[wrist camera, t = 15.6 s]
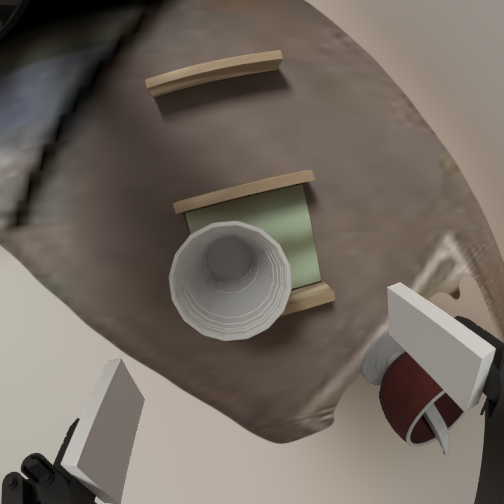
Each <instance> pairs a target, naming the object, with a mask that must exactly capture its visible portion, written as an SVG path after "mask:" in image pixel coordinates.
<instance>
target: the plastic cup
mask: <svg viewBox="0 0 504 504" xmlns="http://www.w3.org/2000/svg"><path fill="white" fill-rule="evenodd" d="M169 283H170V290H171V297H172V301H173V303H174V305H175V306H176V308H177V310H178V312H179V313H180V315H181V317H182V318H183V320H184V321H185V322H186V323H188V324H189V325H190V326H192V327H193V328H194V329H196V330H197V331H198V332H200V333H201V334H202V335H205V336H209V337H212V338H216V339H219V340H223V341H230V340H240V339H248V338H250V337H252V336H254V335H256V334H258V333H260V332H262V331H264V330H266V329H268V328H269V327H270V326H271V325H272V324H273V323H274V322H275V320H276V319H277V318H278V317H279V316H280V315H281V314H282V313H283V311H284V309H285V306H286V303H287V301H288V298H289V295H290V292H291V271H290V264H289V262H288V260H287V258H286V256H285V254H284V252H283V250H282V248H281V246H280V244H279V243H277V242H276V241H275V240H274V239H273V238H272V237H270V236H269V235H268V234H267V233H266V232H265V231H263V230H262V229H261V228H258V227H255V226H252V225H249V224H246V223H243V222H240V221H229V222H218V223H211V224H210V225H208V226H206V227H204V228H202V229H200V230H198V231H196V232H194V233H193V234H191V235H190V236H189V237H188V238H187V240H186V241H185V242H184V243H183V244H182V246H181V247H180V248H179V249H178V251H177V252H176V253H175V256H174V259H173V263H172V267H171V270H170V274H169Z"/></svg>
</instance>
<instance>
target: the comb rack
mask: <svg viewBox="0 0 504 504" xmlns="http://www.w3.org/2000/svg"><path fill="white" fill-rule="evenodd" d="M282 59H283V57H282V54H281V51H280V50H278V51H270V52H262V53H255V54H248V55H242V56H236V57H231V58H225V59H220V60H216V61H211V62H207V63H202V64H198V65H194V66H190V67H186V68H182V69H179V70H175V71H172V72H168V73H165V74H162V75H158V76H155V77H152V78H149V79H146V80H145V83H146V88H147V90H148V91H149V92H150V93H151V95H152V96H153V97H157V96H160V95H164V94H167V93H170V92H174V91H177V90H181V89H184V88H188V87H192V86H196V85H200V84H204V83H208V82H212V81H217V80H221V79H226V78H231V77H236V76H242V75H247V74H253V73H259V72H266V71H273V70H277V69H278V67H279V65H280V63H281V61H282ZM313 180H315V179H314V175H313V170H306V171H300V172H295V173H290V174H285V175H281V176H276V177H272V178H267V179H263V180H258V181H254V182H250V183H246V184H242V185H237V186H233V187H229V188H225V189H221V190H218V191H214V192H210V193H206V194H202V195H199V196H195V197H191V198H188V199H184V200H181V201H177V202H175V203H173V206H174V210H175V214H178V213H181V212H185V211H189V210H192V209H196V208H200V207H203V206H207V205H211V204H215V203H219V202H222V201H226V200H230V199H234V198H238V197H242V196H246V195H250V194H255V193H259V192H263V191H267V190H272V189H276V188H280V187H285V186H289V185H294V184H299V183H303V182H308V181H313ZM185 215H186V219H187V223H188V226H189V230H190V233H191V234H193V233H194V232H196V231H198V230H200V229H202V228H204V227H206V226H208V225H210V224H211V223H218V222H229V221H240V222H243V223H246V224H249V225H252V226H255V227H258V228H261V229H262V230H263V231H265V232H266V233H267V234H268V235H269V236H270V237H272V238H273V239H274V240H275V241H276V242H277V243H279V244H280V246H281V248H282V250H283V252H284V254H285V256H286V258H287V260H288V262H289V264H290V271H291V289H293V288H297V287H301V286H304V285H308V284H311V283H315V282H318V281H321V278H320V271H319V265H318V260H317V254H316V248H315V243H314V237H313V232H312V227H311V222H310V217H309V211H308V207H307V202H306V197H305V192H304V187H303V184H299V185H294V186H290V187H285V188H281V189H276V190H272V191H268V192H263V193H259V194H255V195H251V196H247V197H243V198H239V199H235V200H231V201H227V202H223V203H219V204H215V205H211V206H207V207H204V208H200V209H196V210H193V211H189V212H185ZM334 300H335V295H334V291H333V290H332V289H331V288H330V287H329V286H328V285H327V284H326V283H325V282H324V281H323V282H320V283H317V284H313V285H310V286H306V287H303V288H299V289H295V290H292V291H291V292H290V295H289V298H288V301H287V303H286V306H285V309H284V311H283V313H282V314H281V315H280V316H283V315H287V314H290V313H294V312H297V311H301V310H304V309H308V308H311V307H315V306H318V305H321V304H325V303H328V302H331V301H334ZM280 316H279V317H280Z"/></svg>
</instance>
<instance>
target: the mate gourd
mask: <svg viewBox="0 0 504 504" xmlns="http://www.w3.org/2000/svg"><path fill="white" fill-rule="evenodd" d="M362 373H363V376H364V377H365V379H366V380H367V381H368V382H369V383H371V384H374V385H381V388H380V392H379V399H380V403H381V406H382V410H383V412H384V414H385V417H386V419H387V420H388V422H389V423H390V425H391V426H392V428H393V429H394V431H395V432H396V433H397V434H398V435H399V436H400V437H401V438H402V439H403V440H404V441H406V442H407V444H408V445H409V446H411V447H420V446H424V445H426V444H429V443H431V442H433V441H435V440H436V439H438V441H439V443H440V445H441V447H442V448H443V454H444V455H446V454H448V449H449V435H448V431H449V430H450V429H451V428H452V427H453V426H454V425H455V424H456V423H457V422H458V421H459V420H460V419H461V418H462V417H463V415H464V414H465V413H466V412H464V411H463V410H462V409H461V408H460V407H459V406H458V405H457V404H456V402H455V401H454V400H453V399H452V398H451V397H450V396H449V395H448V394H447V393H446V392H445V391H444V390H443V389H442V388H441V387H440V385H439V384H438V383H437V382H436V381H435V380H434V379H433V378H432V377H431V376H430V375H429V374H428V373H427V372H426V371H425V370H424V369H423V368H422V367H421V366H420V365H419V364H418V363H417V362H416V361H415V360H414V359H413V358H412V357H411V356H410V355H409V354H408V353H407V352H406V351H405V350H404V349H403V348H402V347H401V346H400V345H399V344H398V343H397V342H396V341H395V340H394V339H393V338H392V337H391V336H390V335H389V330H387V331H386V332H384V333H383V334H381V335H380V336H379V337H378V338H377V339H376V340H375V341H374V342H373V343H372V344H371V345H370V347H369V348H368V350H367V351H366V353H365V355H364V358H363V361H362Z"/></svg>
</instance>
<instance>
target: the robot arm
mask: <svg viewBox="0 0 504 504" xmlns="http://www.w3.org/2000/svg"><path fill="white" fill-rule="evenodd" d="M29 1H30V0H0V41H1V40H2V39H3V38H4V37H5V36H6V35H7V34H8V33H9V32H10V30H11V29H12V28H13V27H14V26H15V24H16V23H17V22H18V20H19V19H20V17H21V16H22V14H23V13H24V11H25V9H26V8H27V6H28V3H29ZM387 292H388V320H389V335H390V336H391V337H392V338H393V339H394V340H395V341H396V342H397V343H398V344H399V345H400V346H401V347H402V348H403V349H404V350H405V351H406V352H407V353H408V354H409V355H410V356H411V357H412V358H413V359H414V360H415V361H416V362H417V363H418V364H419V365H420V366H421V367H422V368H423V369H424V370H425V371H426V372H427V373H428V374H429V375H430V376H431V377H432V378H433V379H434V380H435V381H436V382H437V383H438V384H439V385H440V387H441V388H442V389H443V390H444V391H445V392H446V393H447V394H448V395H449V396H450V397H451V398H452V399H453V400H454V401H455V402H456V404H457V405H458V406H459V407H460V408H461V409H462V410H463V411H464V412H467V411H468V410H469V409H471V408H472V407H473V406H475V405H476V404H478V403H479V400H480V397H481V395H482V392H483V393H484V394H485V395H486V396H487V398H486V401H485V403H484V406H483V408H482V410H481V414H480V415H483V413H484V411H485V432H484V445H483V454H482V463H481V470H480V477H479V482H478V488H477V493H476V498H475V502H474V504H504V343H503V342H501V341H500V340H498V339H497V338H495V337H494V336H493V335H491V334H490V333H488V332H487V331H485V330H483V329H482V328H481V327H480V326H477V325H476V324H475V323H474V322H472V321H471V320H469V319H467V318H464V317H460V316H456V317H455V318H453V317H451V316H450V315H448V314H447V313H445V312H444V311H442V310H441V309H439V308H438V307H437V306H435V305H434V304H432V303H431V302H429V301H428V300H426V299H425V298H423V297H422V296H420V295H419V294H417V293H416V292H414V291H412V290H411V289H409V288H408V287H406V286H405V285H403V284H402V283H400V282H399V283H397V284H394V285H392V286H389V287H387ZM144 400H145V399H144V397H143V396H142V394H141V392H140V391H139V389H138V387H137V386H136V384H135V382H134V381H133V379H132V377H131V375H130V374H129V372H128V370H127V369H126V366H125V365H124V363H123V361H122V359H116V360H110V361H108V363H107V365H106V367H105V368H104V371H103V372H102V374H101V376H100V379H99V380H98V382H97V384H96V386H95V388H94V391H93V393H92V394H91V397H90V399H89V401H88V403H87V405H86V407H85V409H84V411H83V414H82V416H81V418H80V419H76V420H75V422H74V423H73V424H72V425H71V426H70V428H69V430H68V432H67V434H66V435H67V437H65V439H64V441H63V442H64V443H63V444H62V446H61V448H60V450H59V453H58V455H57V457H56V459H55V462H54V464H53V465H52V464H51V463H50V462H49V461H48V460H47V459H46V458H45V457H44V456H43V455H41V454H40V453H34V454H31V455H29V456H28V457H26V458H25V459H24V461H23V463H22V465H21V472H22V473H23V474H24V475H25V476H27V477H28V478H29V479H25V478H24V477H23V476H22V475H20V473H18V472H11V473H9V474H7V475H6V476H5V478H4V480H3V483H2V504H97V503H96V502H94V501H95V497H96V496H97V497H98V498H99V499H100V500H102V501H103V502H104V503H111V504H121V498H122V493H123V488H124V483H125V478H126V474H127V469H128V465H129V460H130V456H131V452H132V447H133V443H134V439H135V435H136V431H137V427H138V423H139V419H140V415H141V411H142V407H143V404H144Z"/></svg>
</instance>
